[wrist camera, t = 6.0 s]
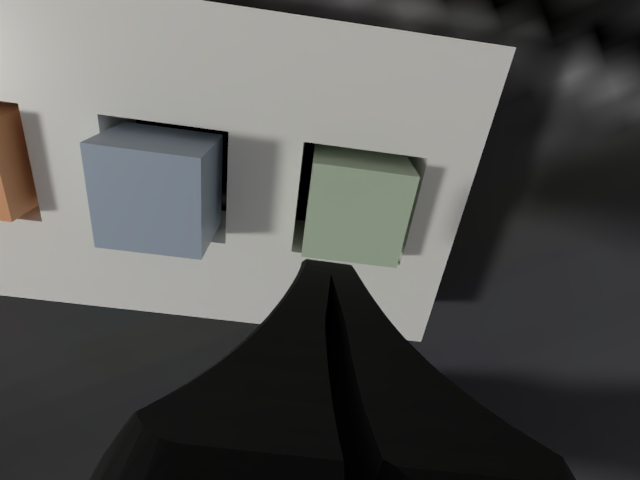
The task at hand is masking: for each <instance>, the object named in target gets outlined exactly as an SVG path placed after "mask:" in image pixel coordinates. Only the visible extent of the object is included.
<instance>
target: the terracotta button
mask: <svg viewBox="0 0 640 480" xmlns="http://www.w3.org/2000/svg"><path fill="white" fill-rule="evenodd" d="M38 205H39V203H38V198H37V194H36V189H35V184H34V179H33V174H32V169H31V165H30V160H29V155H28V150H27V145H26V140H25V136H24V131H23V126H22V121H21V116H20V111H19V107H18V103H11V102H3V101H0V221H7V222H13V221H14V220H16V219H18V218H19V217H21V216H22V215H24V214H26V213H27V212H29V211H30V210H32V209H34V208H35V207H37V206H38Z"/></svg>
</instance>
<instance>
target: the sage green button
mask: <svg viewBox="0 0 640 480" xmlns="http://www.w3.org/2000/svg"><path fill="white" fill-rule="evenodd" d="M419 180H420V176H419V174H418V173H417V171H416V170H415V168H414V166H413V165H412V163H411V162H410V160H409V158H408V157H407V156H406V155H398V154H391V153H383V152H376V151H368V150H361V149H353V148H346V147H339V146H331V145H324V144H316V143H315V146H314V154H313V161H312V169H311V177H310V185H309V193H308V201H307V209H306V217H305V225H304V235H303V245H302V254H301V257H308V258H316V259H325V260H333V261H342V262H350V263H358V264H367V265H375V266H383V267H392V268H397V265H398V261H399V257H400V253H401V249H402V246H403V242H404V238H405V234H406V230H407V226H408V222H409V218H410V215H411V211H412V207H413V203H414V199H415V195H416V191H417V187H418V184H419Z"/></svg>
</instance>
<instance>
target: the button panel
mask: <svg viewBox="0 0 640 480" xmlns="http://www.w3.org/2000/svg"><path fill="white" fill-rule="evenodd" d="M515 50H516V47H510V46H503V45H497V44H490V43H483V42H477V41H470V40H464V39H457V38H450V37H444V36H437V35H430V34H424V33H417V32H410V31H404V30H397V29H390V28H384V27H377V26H370V25H364V24H357V23H350V22H344V21H337V20H330V19H324V18H317V17H310V16H304V15H297V14H290V13H284V12H277V11H271V10H264V9H257V8H251V7H244V6H237V5H231V4H224V3H217V2H211V1H204V0H0V101H3V102H11V103H18V107H19V111H20V116H21V121H22V126H23V131H24V136H25V140H26V145H27V150H28V155H29V160H30V165H31V169H32V174H33V179H34V184H35V189H36V194H37V198H38V203H39V205H38V206H37V207H35V208H34V209H32V210H30V211H29V212H27V213H26V214H24V215H22V216H21V217H19V218H18V219H16V220H14V221H13V222H7V221H0V295H3V296H12V297H21V298H30V299H39V300H48V301H57V302H66V303H75V304H84V305H93V306H103V307H112V308H121V309H130V310H139V311H148V312H157V313H166V314H175V315H184V316H193V317H202V318H211V319H220V320H229V321H238V322H247V323H256V324H261V323H262V322H263V321H264V320H265V319H266V318H267V316H268V315H269V314H270V313H271V311H272V310H273V309H274V308H275V307H276V305H277V304H278V303H279V302H280V300H281V299H282V298H283V296H284V295H285V293H286V292H287V290H288V289H289V287H290V286H291V284H292V283H293V281H294V279H295V278H296V276H297V274H298V272H299V269H300V267H301V263H302V261H304V260H305V259H311V260H318V261H326V262H333V263H341V264H349V265H352V266H353V268H354V269H355V271H356V272H357V274H358V276H359V277H360V279H361V280H362V282H363V283H364V285H365V287H366V288H367V290H368V291H369V293H370V294H371V296H372V297H373V299H374V300H375V301H376V303H377V304H378V305H379V307H380V308H381V310H382V311H383V312H384V314H385V315H386V316H387V318H388V319H389V320H390V321H391V323H392V324H393V325H394V326H395V327H396V329H397V330H398V331H399V332H400V333H401V334H402V336H403V337H404V338H405V339H406V340H410V341H420V342H421V340H422V337H423V334H424V331H425V328H426V325H427V322H428V319H429V316H430V313H431V309H432V306H433V303H434V300H435V297H436V294H437V291H438V288H439V285H440V282H441V279H442V275H443V272H444V269H445V266H446V263H447V260H448V257H449V254H450V251H451V248H452V245H453V241H454V238H455V235H456V232H457V229H458V226H459V223H460V220H461V217H462V214H463V211H464V207H465V204H466V201H467V198H468V195H469V192H470V189H471V186H472V183H473V180H474V177H475V174H476V170H477V167H478V164H479V161H480V158H481V155H482V152H483V149H484V146H485V143H486V140H487V136H488V133H489V130H490V127H491V124H492V121H493V118H494V115H495V112H496V109H497V106H498V102H499V99H500V96H501V93H502V90H503V87H504V84H505V81H506V78H507V75H508V72H509V68H510V65H511V62H512V59H513V56H514V53H515ZM136 119H137V120H145V121H152V122H160V123H167V124H175V125H182V126H189V127H197V128H204V129H212V130H219V131H227V132H228V166H227V204H226V211H222V210H221V224H220V226H219V228H218V229H217V231H216V233H215V235H214V237H213V239H212V241H211V243H210V245H209V247H208V248H207V250H206V252H205V254H204V256H203V258H202V260H198V259H190V258H181V257H173V256H164V255H156V254H147V253H139V252H130V251H122V250H113V249H105V248H96V247H95V246H94V239H93V232H92V225H91V218H90V211H89V205H88V198H87V191H86V184H85V177H84V170H83V163H82V156H81V149H80V142H82V141H84V140H86V139H88V138H90V137H92V136H94V135H96V134H99V133H101V132H103V131H105V130H107V129H109V128H111V127H113V126H115V125H117V124H119V123H122V122H131V123H136ZM305 142H309V143H316V144H324V145H331V146H339V147H346V148H353V149H361V150H368V151H376V152H383V153H391V154H398V155H406V156H408V158H409V160H410V162H411V163H412V165H413V166H414V168H415V170H416V171H417V173H418V174H419V176H420V180H419V184H418V187H417V191H416V195H415V199H414V203H413V207H412V211H411V215H410V218H409V222H408V226H407V230H406V234H405V238H404V242H403V246H402V249H401V253H400V257H399V261H398V265H397V268H392V267H383V266H375V265H367V264H358V263H350V262H342V261H333V260H325V259H316V258H308V257H301V254H302V245H303V235H304V225H305V221H303V220H296V216H297V208H298V199H299V190H300V182H301V173H302V164H303V156H304V147H305Z"/></svg>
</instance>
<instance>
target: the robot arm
mask: <svg viewBox="0 0 640 480" xmlns="http://www.w3.org/2000/svg"><path fill="white" fill-rule="evenodd" d="M90 480H576V479H575V477H574V476H573V474H572V472H571V470H570V469H569V467H568V465H567V464H566V462H565V461H564V459H563V457H561V456H560V455H558V454H556V453H555V452H553V451H551V450H550V449H548V448H547V447H545V446H543V445H542V444H540V443H538V442H537V441H535V440H534V439H532V438H530V437H529V436H527V435H525V434H524V433H522V432H521V431H519V430H517V429H516V428H514V427H512V426H511V425H509V424H508V423H506V422H505V421H503V420H502V419H500V418H499V417H498V416H496V415H495V414H493V413H492V412H490V411H489V410H488V409H486V408H485V407H483V406H482V405H481V404H479V403H478V402H476V401H475V400H474V399H472V398H471V397H470V396H469V395H467V394H466V393H465V392H463V391H462V390H461V389H459V388H458V387H457V386H456V385H455V384H453V383H452V382H451V381H450V380H449V379H447V378H446V377H445V376H444V375H443V374H441V373H440V372H439V371H438V370H437V369H436V368H435V367H434V366H432V365H431V364H430V363H429V362H428V361H427V360H426V359H425V358H424V357H423V356H422V355H421V354H420V353H419V352H418V351H417V350H416V349H415V348H414V347H413V346H412V345H411V344H410V343H409V342H408V341H407V340H406V339H405V338H404V337H403V336H402V334H401V333H400V332H399V331H398V330H397V329H396V327H395V326H394V325H393V324H392V323H391V321H390V320H389V319H388V318H387V316H386V315H385V314H384V312H383V311H382V310H381V308H380V307H379V305H378V304H377V303H376V301H375V300H374V299H373V297H372V296H371V294H370V293H369V291H368V290H367V288H366V287H365V285H364V283H363V282H362V280H361V279H360V277H359V276H358V274H357V272H356V271H355V269H354V268H353V266H352V265H349V264H341V263H333V262H326V261H318V260H311V259H305V260H304V261H302V263H301V267H300V269H299V272H298V274H297V276H296V278H295V279H294V281H293V283H292V284H291V286H290V287H289V289H288V290H287V292H286V293H285V295H284V296H283V298H282V299H281V300H280V302H279V303H278V304H277V305H276V307H275V308H274V309H273V310H272V311H271V313H270V314H269V315H268V316H267V318H266V319H265V320H264V321H263V322H262V323H261V324H260V325H259V326H258V327H257V328H256V329H255V330H254V331H253V332H252V333H251V334H250V335H249V336H248V337H247V338H246V339H245V340H244V341H243V342H241V343H240V344H239V345H238V346H237V347H236V348H234V349H233V350H232V351H231V352H230V353H229V354H227V355H226V356H225V357H224V358H222V359H221V360H220V361H218V362H217V363H216V364H214V365H213V366H211V367H210V368H208V369H207V370H206V371H204V372H203V373H201V374H200V375H198V376H197V377H195V378H194V379H192V380H191V381H190V382H188V383H187V384H185V385H183V386H182V387H180V388H179V389H177V390H175V391H173V392H171V393H170V394H168V395H166V396H164V397H162V398H161V399H159V400H157V401H155V402H153V403H152V404H150V405H148V406H146V407H144V408H142V409H140V410H138V411H136V412H135V413H133V415H132V416H131V417H130V418H129V420H128V421H127V422H126V424H125V425H124V426H123V428H122V429H121V430H120V432H119V433H118V435H117V436H116V437H115V439H114V440H113V442H112V443H111V445H110V446H109V448H108V449H107V451H106V452H105V454H104V455H103V457H102V458H101V460H100V461H99V463H98V465H97V466H96V468H95V470H94V472H93V474H92V476H91V478H90Z"/></svg>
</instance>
